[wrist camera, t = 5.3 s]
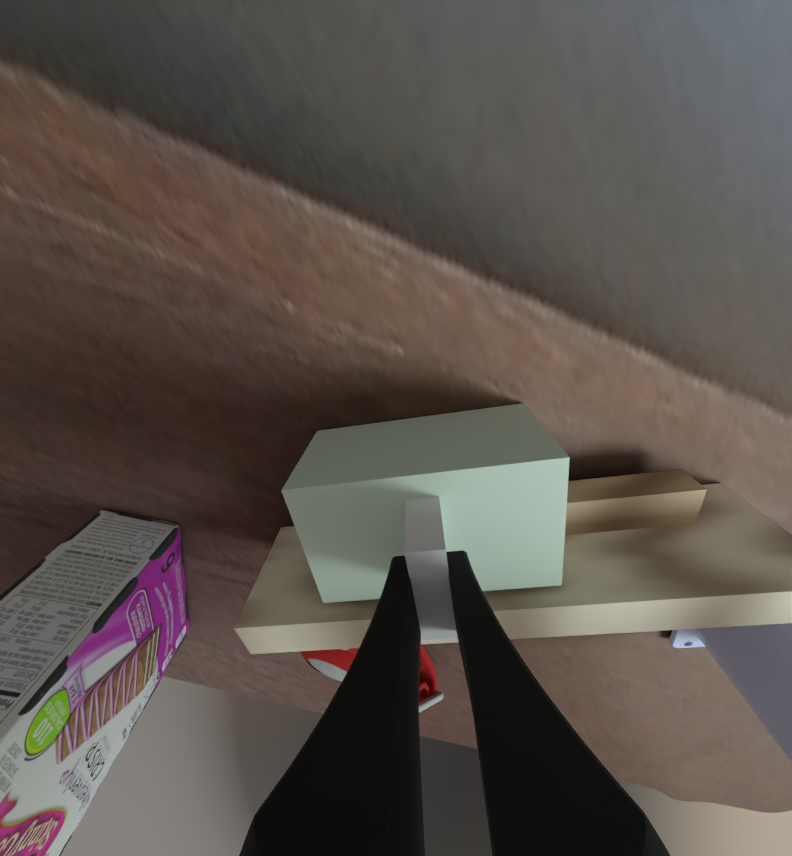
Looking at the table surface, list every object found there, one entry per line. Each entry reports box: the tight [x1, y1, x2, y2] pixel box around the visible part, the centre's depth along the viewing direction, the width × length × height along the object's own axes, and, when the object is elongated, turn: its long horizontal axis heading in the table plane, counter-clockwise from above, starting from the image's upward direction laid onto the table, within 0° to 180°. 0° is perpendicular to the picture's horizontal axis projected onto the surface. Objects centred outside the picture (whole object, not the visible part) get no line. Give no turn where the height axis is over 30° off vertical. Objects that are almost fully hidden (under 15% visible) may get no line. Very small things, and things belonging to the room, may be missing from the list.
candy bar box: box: [0, 510, 190, 856], centre depth 15 cm, size 11×5×16 cm, turn 166°
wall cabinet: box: [281, 403, 570, 640], centre depth 14 cm, size 10×6×8 cm, turn 99°
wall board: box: [234, 469, 792, 654], centre depth 16 cm, size 24×4×6 cm, turn 99°
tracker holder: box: [301, 644, 443, 713], centre depth 23 cm, size 12×4×10 cm
